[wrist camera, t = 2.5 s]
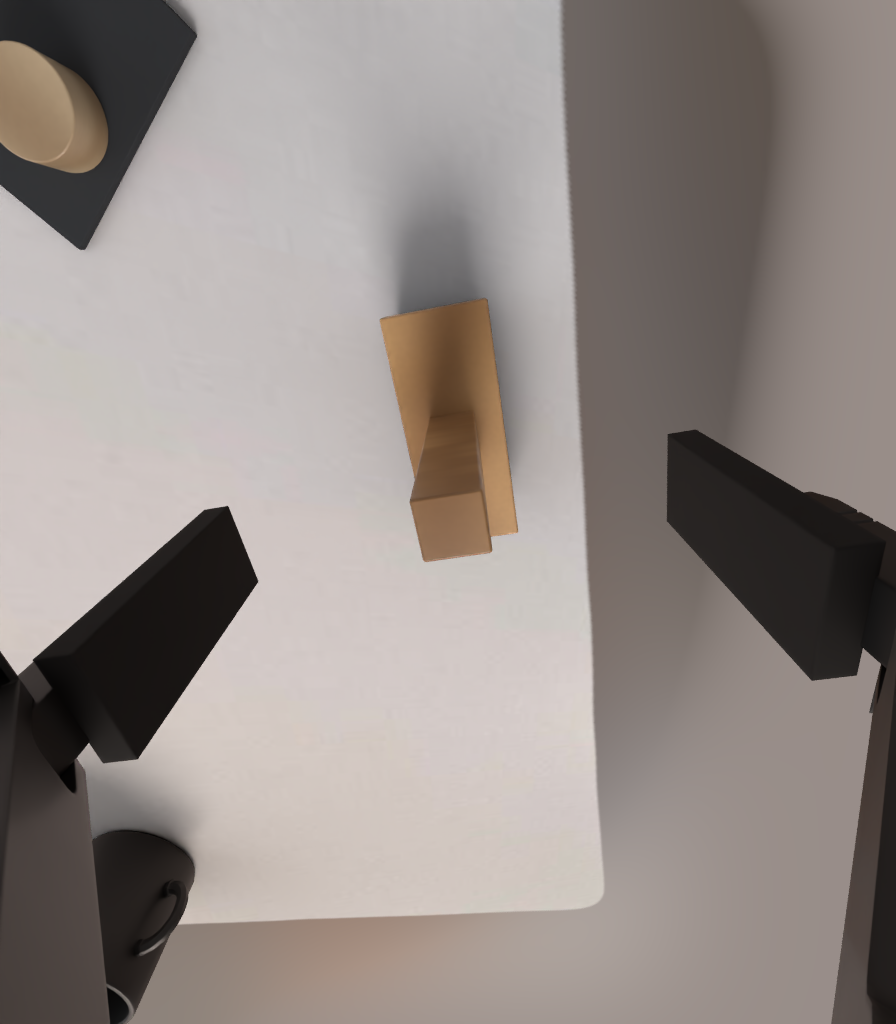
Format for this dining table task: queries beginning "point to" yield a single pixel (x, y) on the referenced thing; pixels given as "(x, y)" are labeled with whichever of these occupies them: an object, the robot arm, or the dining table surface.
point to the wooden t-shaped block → (452, 427)
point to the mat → (115, 81)
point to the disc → (49, 111)
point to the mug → (137, 910)
